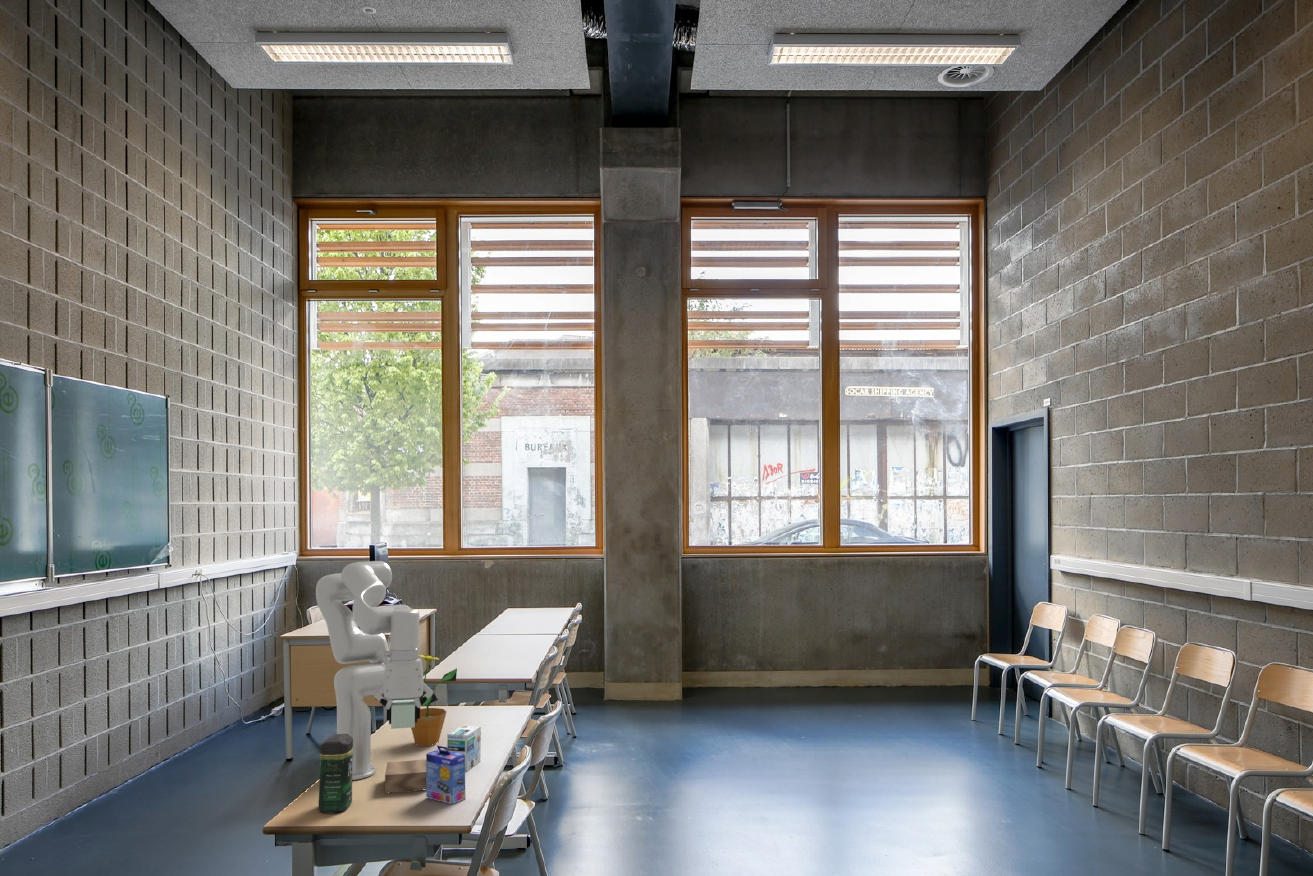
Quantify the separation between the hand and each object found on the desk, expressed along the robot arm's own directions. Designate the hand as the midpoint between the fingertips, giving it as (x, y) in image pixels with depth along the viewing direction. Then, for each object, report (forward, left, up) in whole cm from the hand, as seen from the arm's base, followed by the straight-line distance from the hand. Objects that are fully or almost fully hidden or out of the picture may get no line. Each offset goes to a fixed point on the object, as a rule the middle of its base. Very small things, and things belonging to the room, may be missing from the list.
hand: (403, 721), depth 244 cm
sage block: (0, 0, -1) cm, 1 cm away
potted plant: (+6, +56, -21) cm, 60 cm away
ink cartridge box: (+11, -1, -21) cm, 24 cm away
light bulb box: (+17, +28, -21) cm, 39 cm away
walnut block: (+1, +14, -21) cm, 25 cm away
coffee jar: (-17, 0, -21) cm, 27 cm away
